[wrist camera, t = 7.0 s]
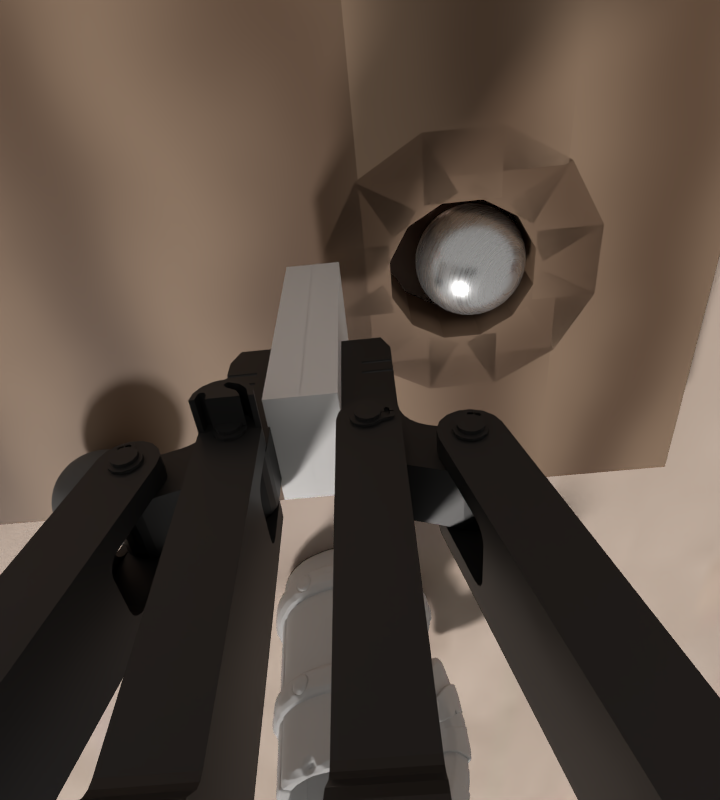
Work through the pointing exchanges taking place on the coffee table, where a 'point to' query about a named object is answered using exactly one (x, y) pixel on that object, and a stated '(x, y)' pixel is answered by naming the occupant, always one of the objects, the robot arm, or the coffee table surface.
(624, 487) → the coffee table surface
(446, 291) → the steel ball
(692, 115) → the deck
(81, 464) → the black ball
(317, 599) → the mug
